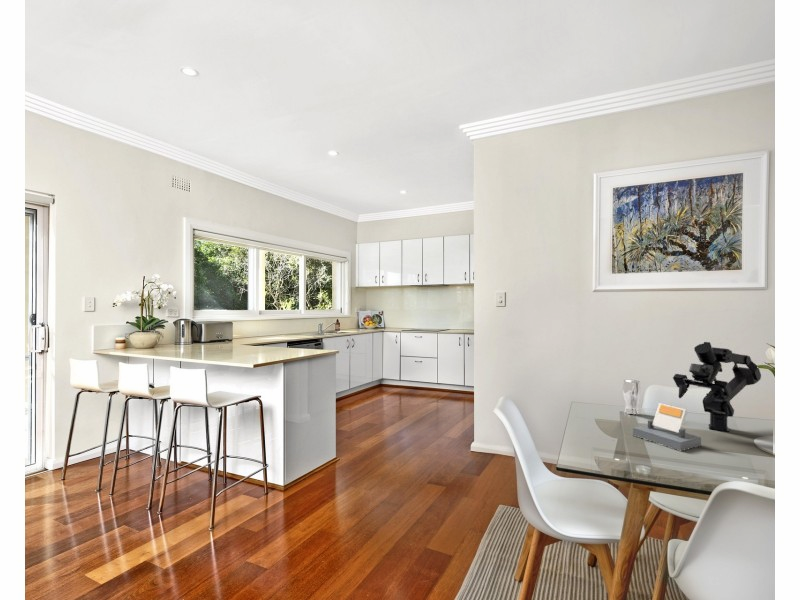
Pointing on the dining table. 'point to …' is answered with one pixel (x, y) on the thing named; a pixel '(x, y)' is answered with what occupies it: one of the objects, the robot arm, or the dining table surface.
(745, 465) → the dining table surface
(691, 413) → the dining table surface
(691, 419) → the dining table surface
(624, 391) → the beer glass
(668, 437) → the base
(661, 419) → the panel
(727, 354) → the robot arm
